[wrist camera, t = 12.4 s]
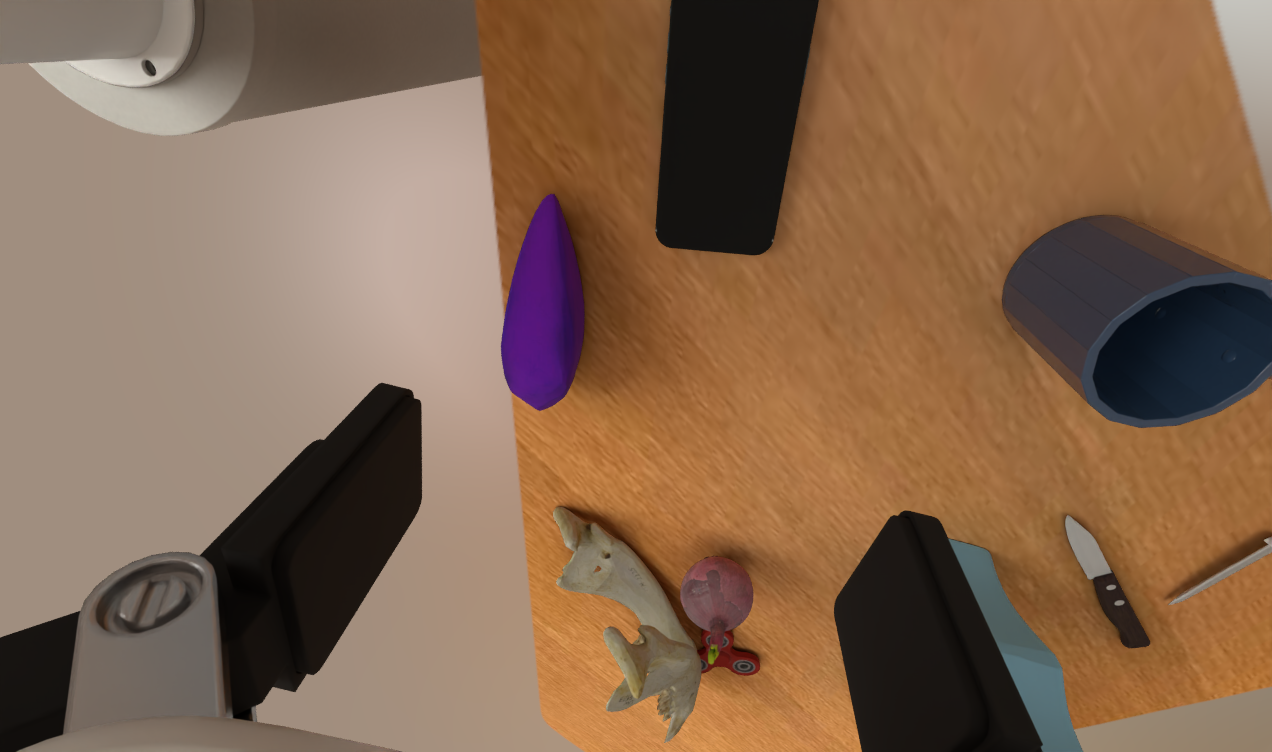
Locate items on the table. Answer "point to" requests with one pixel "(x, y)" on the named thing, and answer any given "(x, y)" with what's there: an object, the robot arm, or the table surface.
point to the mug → (1142, 320)
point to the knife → (1226, 572)
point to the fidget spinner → (728, 656)
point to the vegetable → (716, 598)
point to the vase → (1021, 652)
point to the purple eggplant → (544, 312)
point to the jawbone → (661, 632)
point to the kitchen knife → (1106, 585)
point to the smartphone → (729, 120)
